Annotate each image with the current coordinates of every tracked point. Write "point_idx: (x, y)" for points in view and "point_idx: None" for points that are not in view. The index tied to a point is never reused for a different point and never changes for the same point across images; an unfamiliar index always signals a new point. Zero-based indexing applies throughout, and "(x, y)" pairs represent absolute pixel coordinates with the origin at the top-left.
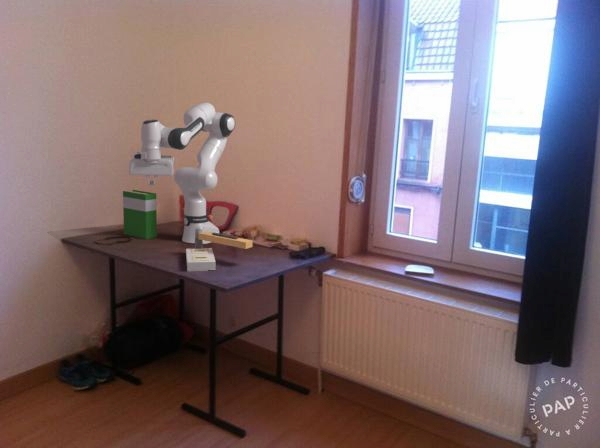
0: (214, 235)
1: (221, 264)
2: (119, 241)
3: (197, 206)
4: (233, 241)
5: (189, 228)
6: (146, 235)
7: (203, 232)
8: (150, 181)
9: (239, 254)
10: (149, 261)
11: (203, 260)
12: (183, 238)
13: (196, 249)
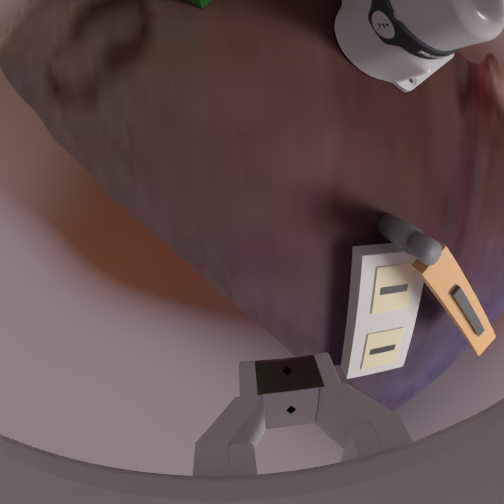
0: (452, 301)
1: (418, 311)
2: (113, 49)
3: (472, 41)
4: (467, 339)
5: (386, 50)
6: (201, 2)
7: (437, 263)
8: (273, 426)
9: (471, 223)
10: (247, 295)
11: (382, 364)
12: (345, 42)
13: (389, 273)
